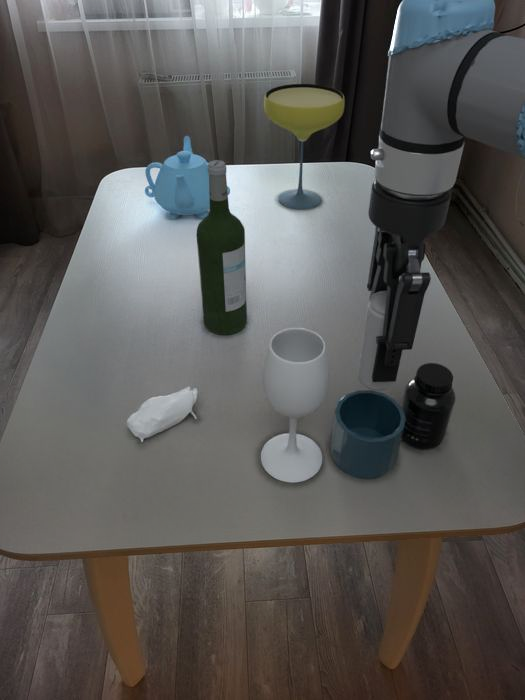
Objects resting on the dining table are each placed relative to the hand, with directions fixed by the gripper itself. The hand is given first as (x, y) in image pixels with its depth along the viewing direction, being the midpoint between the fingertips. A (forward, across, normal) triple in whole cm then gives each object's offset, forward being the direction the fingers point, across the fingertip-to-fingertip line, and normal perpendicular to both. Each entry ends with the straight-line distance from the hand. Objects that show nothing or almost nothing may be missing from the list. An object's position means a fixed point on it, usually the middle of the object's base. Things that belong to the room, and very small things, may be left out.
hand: (379, 363), depth 68 cm
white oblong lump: (+17, -6, -29) cm, 34 cm away
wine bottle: (+17, -31, -20) cm, 41 cm away
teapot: (+17, -77, -29) cm, 84 cm away
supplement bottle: (+17, -3, +9) cm, 20 cm away
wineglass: (+17, 0, -10) cm, 20 cm away
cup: (+17, 0, 0) cm, 17 cm away
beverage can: (+3, 0, 0) cm, 3 cm away
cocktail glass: (+17, -80, -1) cm, 82 cm away
